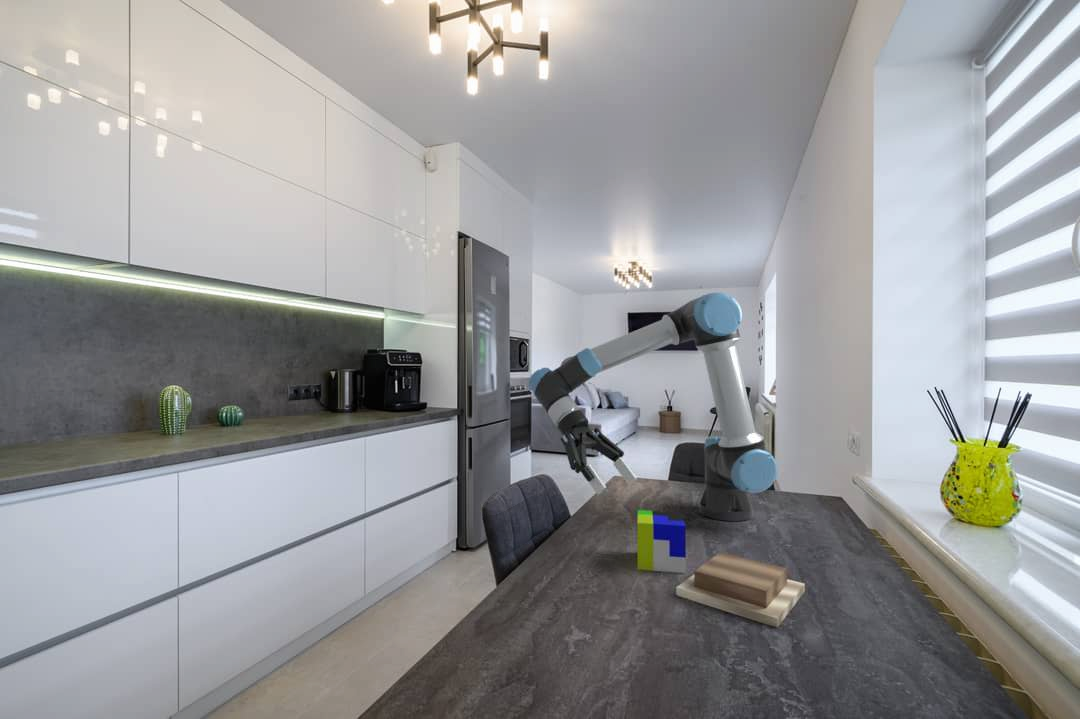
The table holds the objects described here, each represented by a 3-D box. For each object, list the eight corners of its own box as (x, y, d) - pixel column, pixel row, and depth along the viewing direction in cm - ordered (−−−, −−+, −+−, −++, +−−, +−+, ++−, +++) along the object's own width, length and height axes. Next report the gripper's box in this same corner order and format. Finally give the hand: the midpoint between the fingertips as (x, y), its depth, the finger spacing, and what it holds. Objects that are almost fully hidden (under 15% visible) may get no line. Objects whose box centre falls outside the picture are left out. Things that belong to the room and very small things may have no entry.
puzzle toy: (685, 573, 105) (685, 525, 105) (637, 569, 107) (637, 522, 107) (681, 556, 115) (681, 512, 115) (637, 552, 117) (637, 510, 117)
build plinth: (713, 567, 108) (713, 546, 108) (804, 591, 96) (804, 568, 96) (676, 595, 95) (676, 571, 95) (777, 627, 83) (777, 600, 83)
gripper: (588, 424, 140) (634, 486, 129) (528, 431, 121) (577, 505, 111) (604, 406, 136) (653, 468, 126) (545, 411, 118) (597, 485, 107)
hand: (618, 486), depth 118 cm, fingers open, 13 cm apart
